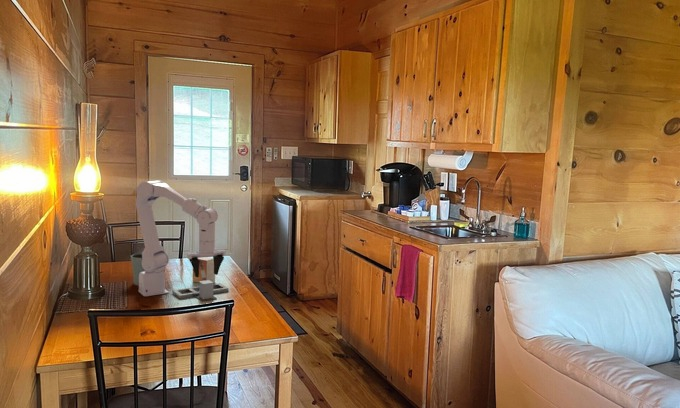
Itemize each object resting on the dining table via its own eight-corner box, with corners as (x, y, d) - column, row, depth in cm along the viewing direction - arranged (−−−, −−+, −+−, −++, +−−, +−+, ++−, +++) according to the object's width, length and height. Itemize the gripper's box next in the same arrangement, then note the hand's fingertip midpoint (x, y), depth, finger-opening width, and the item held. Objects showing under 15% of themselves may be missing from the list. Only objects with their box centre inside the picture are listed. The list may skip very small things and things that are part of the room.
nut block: (203, 299, 190) (203, 284, 190) (199, 296, 194) (199, 281, 193) (213, 297, 193) (213, 282, 192) (209, 295, 196) (209, 280, 195)
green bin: (162, 282, 212) (162, 254, 211) (143, 287, 203) (143, 258, 202) (144, 278, 216) (144, 251, 215) (125, 284, 207) (125, 255, 206)
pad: (201, 301, 189) (201, 300, 189) (195, 297, 194) (195, 296, 194) (216, 299, 193) (216, 298, 193) (210, 295, 197) (210, 294, 197)
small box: (192, 281, 215) (192, 257, 213) (201, 278, 220) (201, 255, 218) (206, 284, 211) (206, 260, 210) (215, 281, 216) (215, 257, 215)
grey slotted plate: (179, 299, 191) (179, 295, 191) (172, 293, 197) (172, 290, 197) (228, 291, 203) (228, 288, 203) (220, 286, 209) (220, 283, 209)
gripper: (192, 244, 183) (191, 280, 184) (229, 240, 192) (228, 275, 193) (185, 240, 188) (184, 275, 190) (221, 237, 197) (220, 271, 199)
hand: (206, 275), depth 192 cm, fingers open, 7 cm apart
